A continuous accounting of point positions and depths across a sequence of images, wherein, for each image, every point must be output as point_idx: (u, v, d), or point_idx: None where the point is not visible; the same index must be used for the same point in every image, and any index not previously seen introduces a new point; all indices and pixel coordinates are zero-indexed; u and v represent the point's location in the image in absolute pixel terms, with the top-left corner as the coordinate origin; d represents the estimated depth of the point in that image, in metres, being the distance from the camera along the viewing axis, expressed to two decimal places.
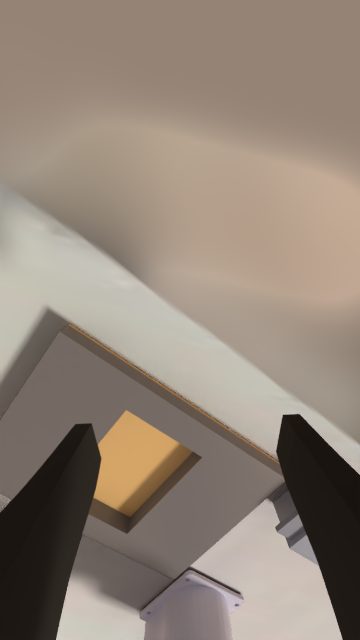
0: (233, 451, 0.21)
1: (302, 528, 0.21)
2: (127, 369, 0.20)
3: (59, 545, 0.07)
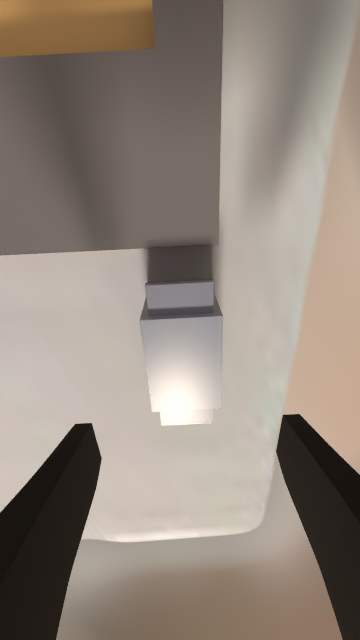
0: (208, 101, 0.10)
1: (180, 310, 0.13)
2: None
3: (59, 545, 0.07)
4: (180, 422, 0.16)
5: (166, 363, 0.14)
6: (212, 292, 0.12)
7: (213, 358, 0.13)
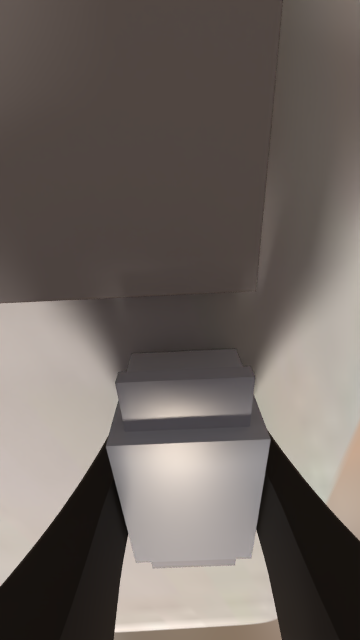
0: None
1: (185, 423, 0.06)
2: None
3: (114, 543, 0.07)
4: (183, 564, 0.10)
5: (159, 505, 0.07)
6: (251, 394, 0.06)
7: (245, 498, 0.07)
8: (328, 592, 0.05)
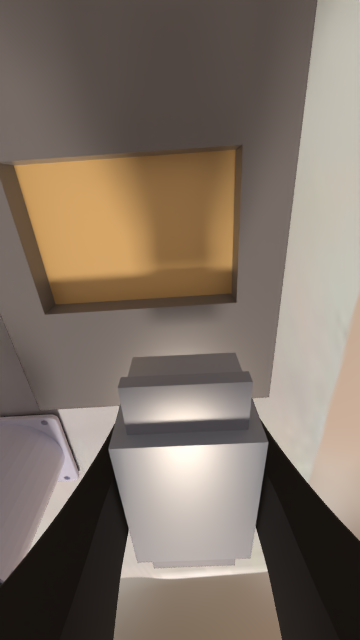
0: (268, 325, 0.15)
1: (186, 426, 0.07)
2: None
3: (114, 543, 0.07)
4: (183, 565, 0.10)
5: (161, 506, 0.08)
6: (249, 399, 0.06)
7: (243, 500, 0.07)
8: (328, 592, 0.05)
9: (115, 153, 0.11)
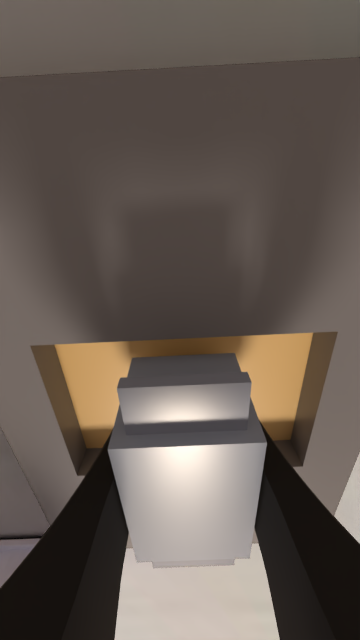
0: (336, 485, 0.13)
1: (185, 427, 0.07)
2: None
3: (115, 543, 0.07)
4: (183, 564, 0.10)
5: (159, 506, 0.08)
6: (248, 399, 0.06)
7: (243, 499, 0.07)
8: (325, 592, 0.05)
9: (180, 337, 0.09)
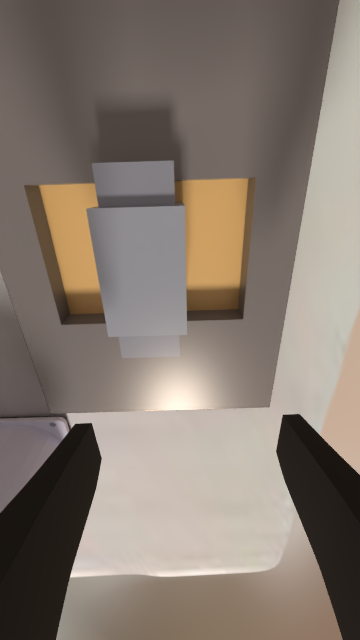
0: (272, 341, 0.16)
1: (135, 200, 0.11)
2: None
3: (59, 545, 0.07)
4: (143, 354, 0.14)
5: (121, 270, 0.12)
6: (172, 175, 0.10)
7: (175, 265, 0.11)
8: None
9: None
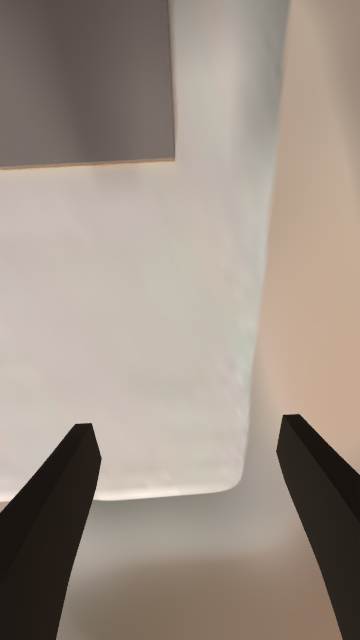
0: None
1: None
2: None
3: (59, 545, 0.07)
4: None
5: None
6: None
7: None
8: None
9: None
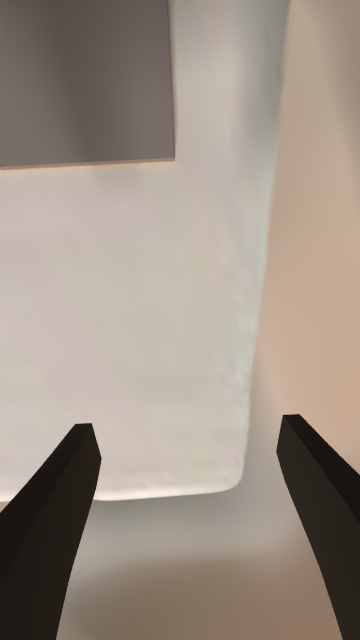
0: None
1: None
2: None
3: (59, 545, 0.07)
4: None
5: None
6: None
7: None
8: None
9: None
